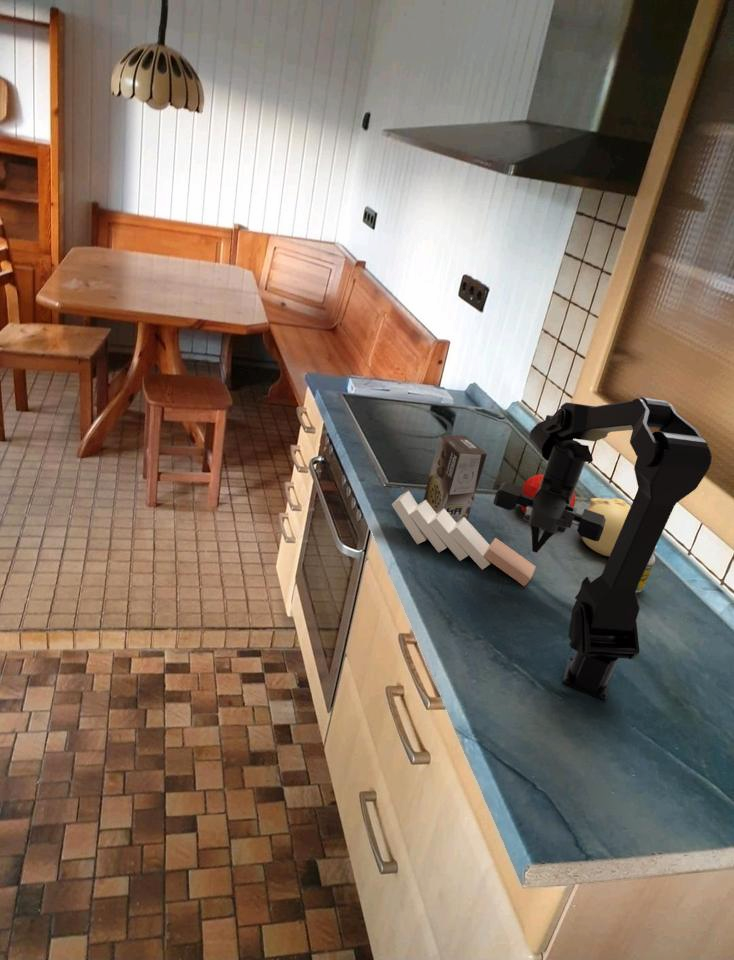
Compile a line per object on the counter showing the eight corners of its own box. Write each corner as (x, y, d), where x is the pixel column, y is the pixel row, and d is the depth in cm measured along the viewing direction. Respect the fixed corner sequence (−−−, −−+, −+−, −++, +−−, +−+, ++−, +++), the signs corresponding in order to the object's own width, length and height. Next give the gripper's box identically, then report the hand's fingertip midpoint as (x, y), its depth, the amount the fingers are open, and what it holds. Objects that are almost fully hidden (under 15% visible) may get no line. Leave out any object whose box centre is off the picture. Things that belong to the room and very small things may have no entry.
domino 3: (467, 555, 128) (436, 518, 128) (460, 561, 129) (428, 524, 129) (474, 544, 132) (444, 508, 132) (467, 549, 133) (436, 513, 133)
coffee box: (467, 525, 142) (488, 454, 135) (440, 526, 140) (460, 453, 133) (447, 503, 150) (466, 434, 143) (420, 503, 147) (438, 433, 140)
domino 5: (530, 578, 125) (489, 548, 126) (524, 586, 126) (483, 556, 127) (535, 566, 129) (495, 537, 130) (529, 573, 130) (489, 545, 131)
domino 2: (446, 547, 129) (417, 509, 129) (438, 552, 130) (409, 514, 130) (454, 536, 133) (425, 499, 133) (446, 541, 134) (418, 504, 134)
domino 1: (425, 540, 130) (399, 500, 130) (417, 544, 131) (391, 504, 131) (433, 529, 135) (408, 490, 134) (425, 533, 136) (400, 495, 135)
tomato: (560, 536, 146) (574, 499, 142) (507, 514, 150) (519, 477, 146) (573, 519, 155) (586, 483, 151) (522, 498, 159) (534, 463, 155)
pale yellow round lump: (630, 544, 149) (649, 500, 144) (630, 570, 139) (650, 524, 134) (577, 526, 152) (594, 483, 147) (573, 551, 141) (590, 505, 137)
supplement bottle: (625, 574, 137) (643, 533, 132) (647, 590, 133) (667, 548, 129) (608, 579, 134) (625, 537, 129) (630, 596, 130) (649, 552, 126)
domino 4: (490, 564, 127) (456, 527, 127) (482, 569, 128) (449, 533, 128) (496, 552, 131) (464, 516, 131) (488, 558, 132) (456, 522, 132)
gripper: (498, 471, 114) (474, 551, 121) (612, 511, 109) (580, 592, 116) (513, 451, 124) (489, 526, 130) (618, 486, 119) (588, 562, 125)
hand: (534, 551), depth 125 cm, fingers closed
